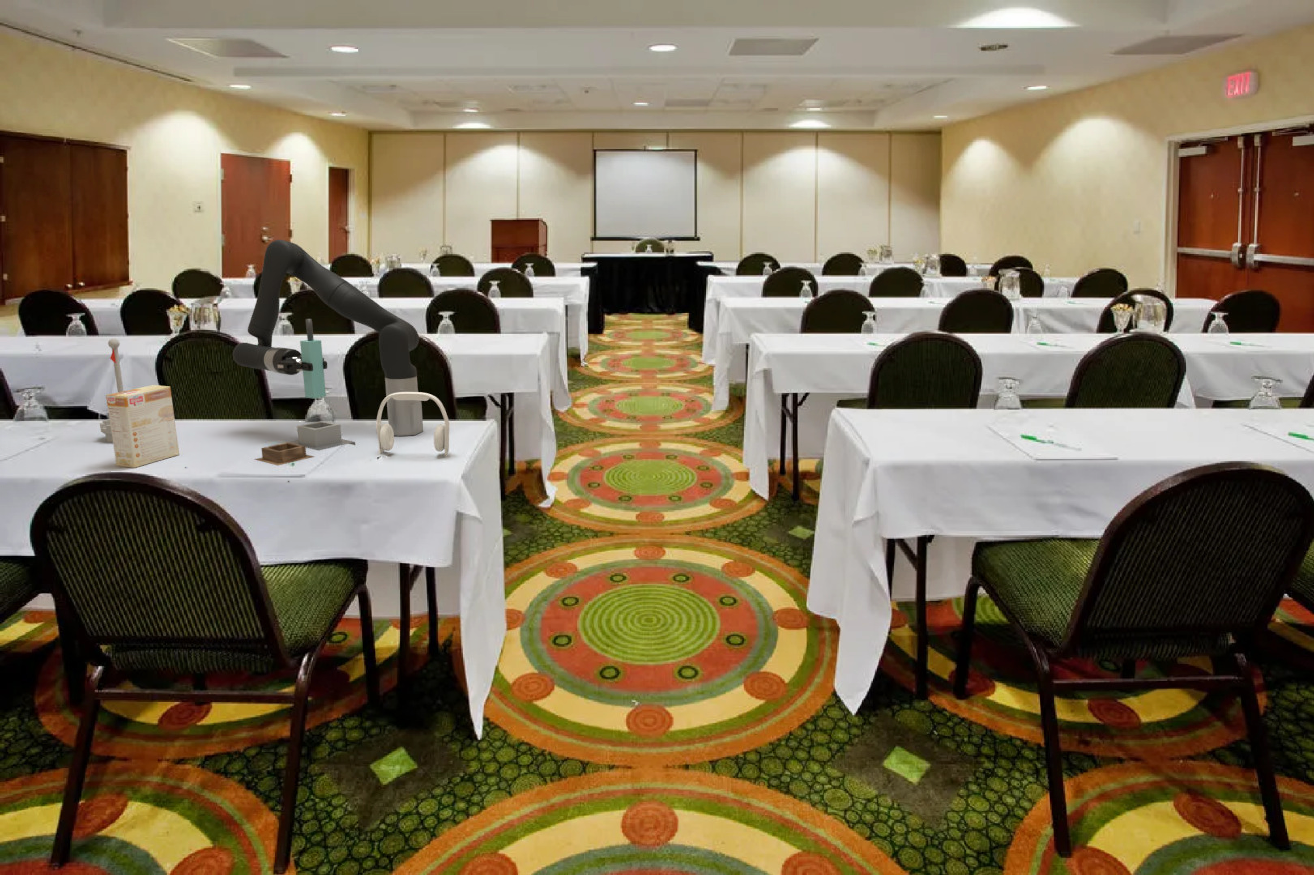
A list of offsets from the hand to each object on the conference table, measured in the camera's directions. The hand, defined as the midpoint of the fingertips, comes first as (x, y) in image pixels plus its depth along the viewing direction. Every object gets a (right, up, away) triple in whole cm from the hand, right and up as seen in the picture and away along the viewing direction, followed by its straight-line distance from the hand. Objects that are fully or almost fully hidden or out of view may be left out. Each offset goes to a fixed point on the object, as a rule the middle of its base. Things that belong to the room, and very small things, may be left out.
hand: (318, 366), depth 268 cm
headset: (+28, -25, -5) cm, 38 cm away
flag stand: (-64, -20, +18) cm, 70 cm away
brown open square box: (-6, -26, -10) cm, 29 cm away
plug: (-2, -8, +4) cm, 9 cm away
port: (-2, -22, +7) cm, 23 cm away
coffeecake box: (-44, -26, -7) cm, 52 cm away
